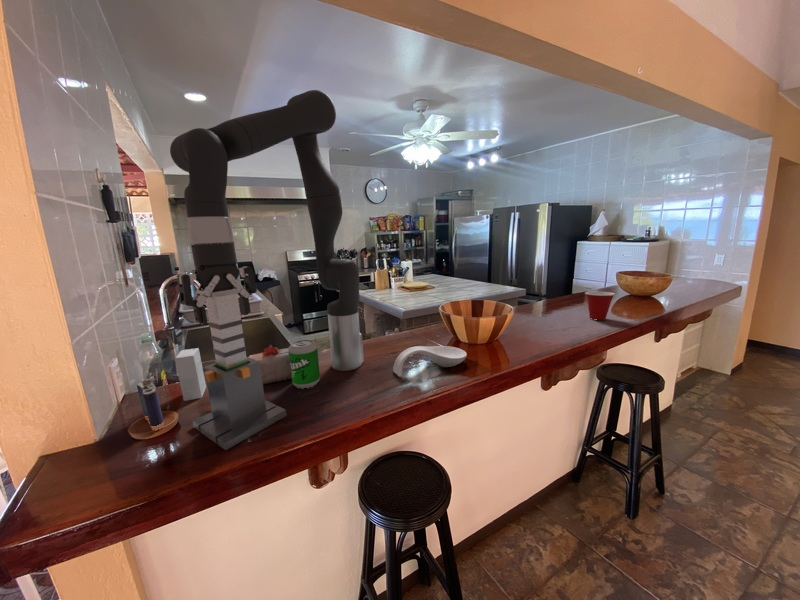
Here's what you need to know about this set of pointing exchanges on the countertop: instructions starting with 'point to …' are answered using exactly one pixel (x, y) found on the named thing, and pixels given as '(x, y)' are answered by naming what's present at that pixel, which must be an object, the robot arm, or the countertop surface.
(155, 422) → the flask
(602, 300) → the plastic cup
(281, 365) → the food item
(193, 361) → the skincare box
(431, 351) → the spoon rest
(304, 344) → the soda can
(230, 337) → the column
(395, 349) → the countertop surface
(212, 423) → the stand
